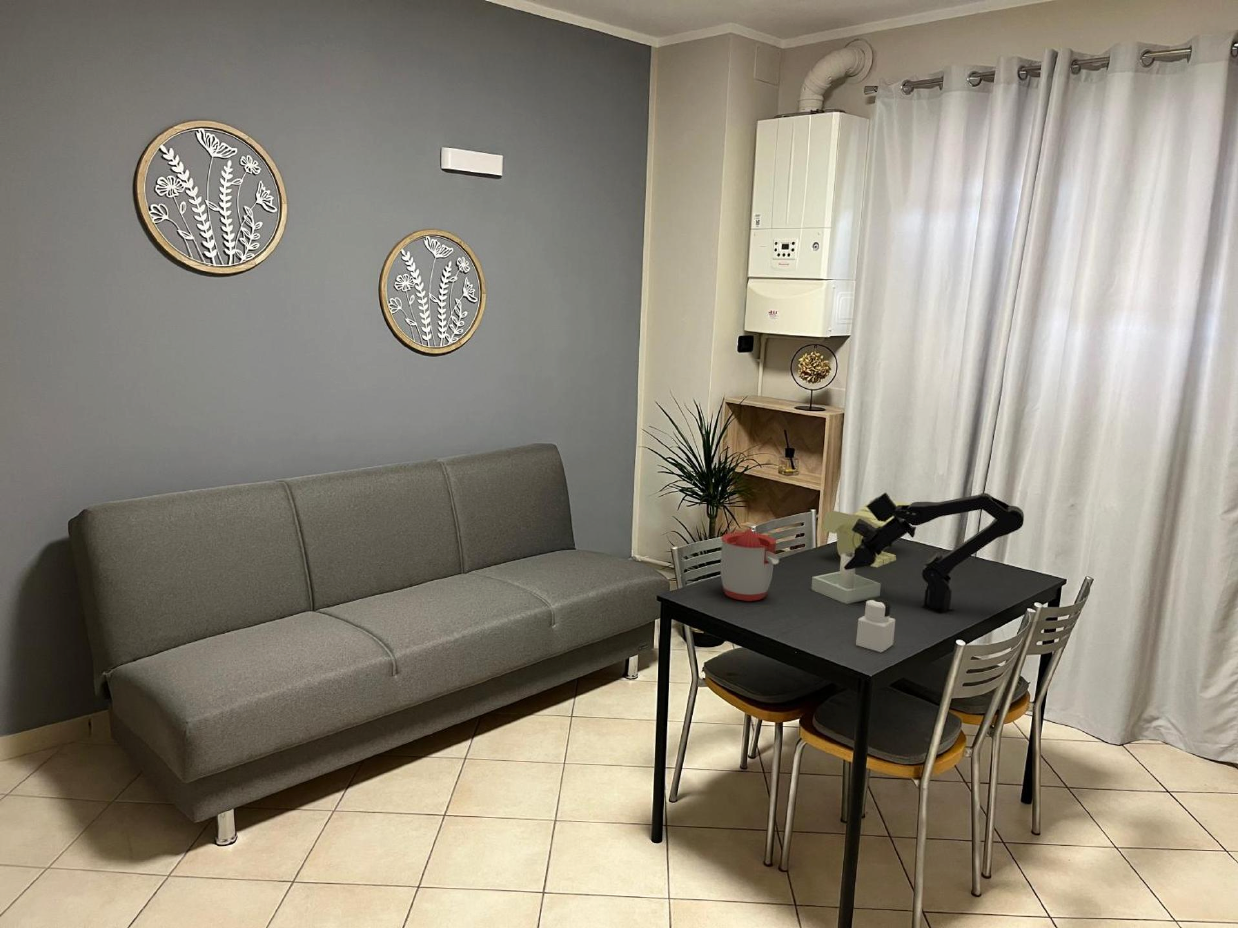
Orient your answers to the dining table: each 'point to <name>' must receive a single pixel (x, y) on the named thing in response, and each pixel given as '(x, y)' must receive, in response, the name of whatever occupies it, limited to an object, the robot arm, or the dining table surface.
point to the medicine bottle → (876, 626)
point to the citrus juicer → (747, 564)
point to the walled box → (831, 589)
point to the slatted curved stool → (850, 539)
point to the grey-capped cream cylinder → (846, 572)
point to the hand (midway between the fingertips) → (847, 564)
